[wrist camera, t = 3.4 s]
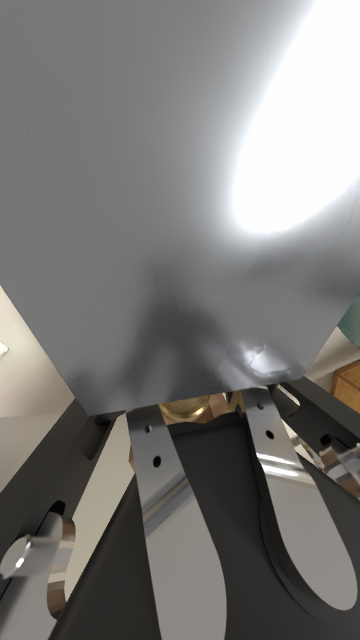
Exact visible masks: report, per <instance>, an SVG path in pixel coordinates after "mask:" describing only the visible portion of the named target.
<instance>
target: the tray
mask: <svg viewBox="0 0 360 640" xmlns="http://www.w3.org/2000/svg"><path fill="white" fill-rule="evenodd" d="M331 395H333V396H334V397H336V398H337V399H339V400H340V401H342V402H343V403H345V404H346V405H348V406H349V407H351V408H352V409H354V410H355V411H357V412H358V413H360V360H358V361H356V362H354V363H351V364H349V365H347V366H345V367H342V368H340V369H338V370H336V371H334V376H333V382H332V388H331Z"/></svg>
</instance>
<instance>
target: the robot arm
mask: <svg viewBox="0 0 360 640" xmlns="http://www.w3.org/2000/svg"><path fill="white" fill-rule="evenodd" d="M279 384H280V385H281V386H282V387H283V388H284V389H286V390H287V391H288V392H289V393H290V394H292V395H293V396H294V397H295V398H296V399H297V400H298V401H299V403H300V406H299V405H297V404H296V403H295V402H294V401H293V400H291V399H290V398H289V397H288V396H287V395H286V394H284V393H283V392H282V391H281V390H280V389H278V388H277V386H278V385H279ZM225 394H226V402H227V413H224V414H221V415H219V416H217V417H216V418H214V419H212V420H210V421H209V422H207V423H196V422H187V421H184V422H179V423H174V424H169V425H167V426H166V423H165V420H164V418H163V415H162V413H161V410H160V408H159V405H158V404H156V405H150V406H144V407H139V408H133V409H127V410H121V411H116V412H110V413H104V414H99V415H93V416H88V415H87V413H86V412H85V410H84V409H83V407H82V406H81V404H80V403H79V401H78V400H77V398H75V399H74V400H73V402H72V403H71V404H70V405H69V407H68V408H67V409H66V411H65V412H64V413H63V414H62V416H61V417H60V418H59V419H58V421H57V422H56V424H54V426H53V427H52V428H51V430H50V431H49V432H48V433H47V435H46V436H45V437H44V438H43V440H42V441H41V442H40V444H39V445H38V446H37V447H36V449H35V450H34V451H33V452H32V454H31V455H30V456H29V458H28V459H27V460H26V461H25V463H24V464H23V465H22V466H21V468H20V469H19V470H18V471H17V473H16V474H15V475H14V477H13V478H12V479H11V480H10V482H9V483H8V484H7V485H6V487H5V488H4V489H3V491H2V492H1V493H0V640H360V413H358V412H357V411H355V410H354V409H352V408H351V407H349V406H348V405H346V404H345V403H343V402H342V401H340V400H339V399H337V398H336V397H334V396H333V395H331V394H330V393H328V392H327V391H325V390H324V389H322V388H321V387H319V386H318V385H316V384H315V383H313V382H312V381H310V380H309V379H307V378H306V377H304V376H303V377H302V378H301V379H298V380H293V381H287V382H281V383H275V384H270V385H264V386H258V387H253V388H247V389H241V390H236V391H230V392H225ZM124 413H126V417H127V422H128V429H129V435H130V441H131V447H132V453H133V459H134V465H135V471H136V472H135V474H134V476H133V478H132V480H131V481H130V483H129V485H128V487H127V489H126V491H125V493H124V495H123V497H122V499H121V500H120V502H119V504H118V506H117V508H116V510H115V512H114V514H113V516H112V518H111V519H110V522H109V523H108V525H107V527H106V529H105V531H104V533H103V535H102V537H101V538H100V540H99V542H98V544H97V546H96V548H95V550H94V552H93V554H92V555H91V557H90V559H89V561H88V563H87V565H86V567H85V569H84V571H83V572H82V574H81V576H80V578H79V580H78V582H77V584H76V586H75V588H74V590H73V591H72V593H71V595H70V597H69V599H68V601H67V603H66V600H65V593H64V584H65V575H66V570H67V566H68V562H69V559H70V556H71V553H72V550H73V546H74V542H75V531H76V530H75V524H74V522H73V520H72V517H73V515H74V512H75V510H76V508H77V506H78V503H79V501H80V499H81V497H82V495H83V492H84V490H85V488H86V486H87V483H88V481H89V479H90V477H91V475H92V472H93V470H94V468H95V466H96V463H97V461H98V459H99V457H100V454H101V452H102V450H103V448H104V446H105V443H106V441H107V439H108V437H109V434H110V432H111V430H112V428H113V425H114V423H115V421H116V419H117V417H118V416H120V415H122V414H124ZM281 418H282V420H283V421H284V422H285V423H286V424H287V425H288V426H289V427H290V428H291V429H292V430H293V431H294V432H295V433H296V434H297V435H298V436H299V437H300V438H301V439H302V440H303V441H304V442H305V443H306V444H307V445H308V446H309V447H310V448H311V449H312V450H313V451H314V452H315V453H316V454H317V455H318V456H319V457H320V458H321V461H322V463H323V466H322V467H323V470H324V472H325V473H324V472H322V471H321V470H320V469H318V468H317V467H316V466H314V465H313V464H312V463H310V462H309V461H308V460H307V459H305V458H304V457H303V456H301V455H300V454H299V453H297V452H296V451H295V449H294V447H293V445H292V442H291V440H290V438H289V436H288V433H287V431H286V429H285V426H284V424H283V422H282V420H281Z"/></svg>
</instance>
